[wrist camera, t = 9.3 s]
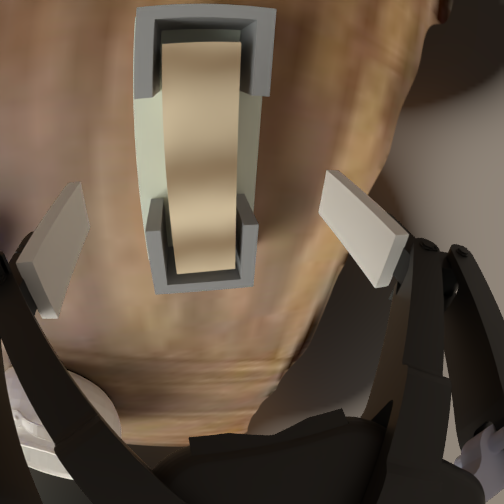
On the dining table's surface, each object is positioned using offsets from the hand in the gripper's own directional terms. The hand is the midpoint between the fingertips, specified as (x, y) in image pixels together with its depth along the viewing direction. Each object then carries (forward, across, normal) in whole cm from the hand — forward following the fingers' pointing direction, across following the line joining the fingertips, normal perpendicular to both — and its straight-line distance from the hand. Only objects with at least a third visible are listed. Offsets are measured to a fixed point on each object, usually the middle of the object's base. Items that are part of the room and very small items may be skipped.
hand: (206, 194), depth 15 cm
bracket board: (+13, 0, -1) cm, 13 cm away
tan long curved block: (+12, 0, -1) cm, 12 cm away
